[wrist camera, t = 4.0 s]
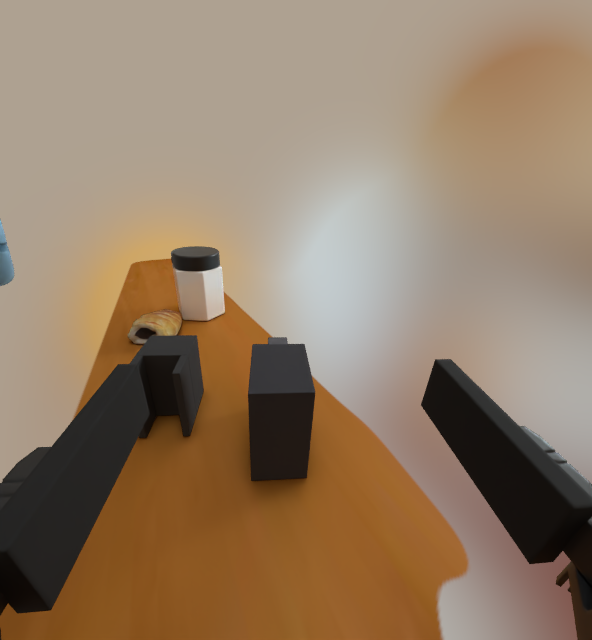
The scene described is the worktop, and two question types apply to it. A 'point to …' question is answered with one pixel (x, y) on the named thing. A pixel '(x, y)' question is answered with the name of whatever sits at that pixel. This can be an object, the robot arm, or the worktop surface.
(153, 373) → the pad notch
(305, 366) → the block
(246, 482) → the worktop surface
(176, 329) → the pastry
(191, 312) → the jar
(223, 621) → the worktop surface
